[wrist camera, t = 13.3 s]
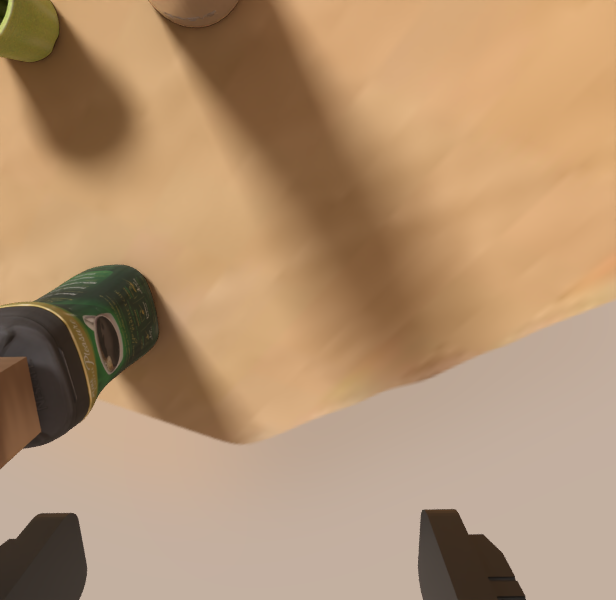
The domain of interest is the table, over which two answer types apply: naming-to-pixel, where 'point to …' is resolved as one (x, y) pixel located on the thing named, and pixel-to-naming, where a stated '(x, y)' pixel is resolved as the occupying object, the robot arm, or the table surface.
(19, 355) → the coffee jar
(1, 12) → the plant pot
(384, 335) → the table surface
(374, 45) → the table surface
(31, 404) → the walnut block
